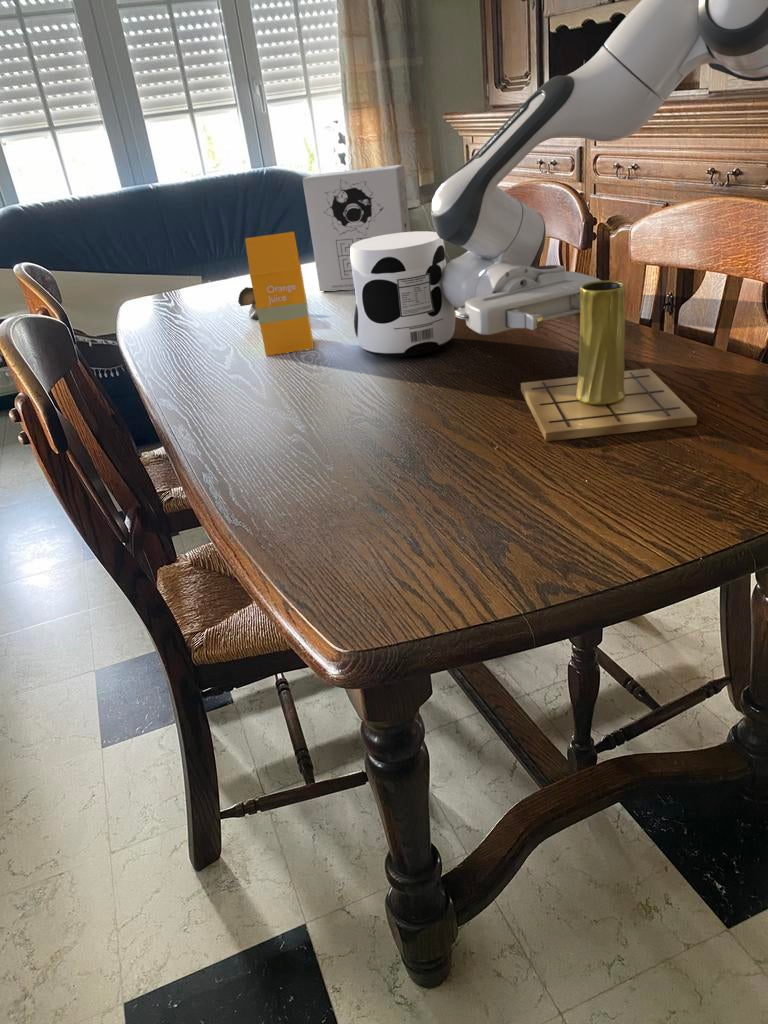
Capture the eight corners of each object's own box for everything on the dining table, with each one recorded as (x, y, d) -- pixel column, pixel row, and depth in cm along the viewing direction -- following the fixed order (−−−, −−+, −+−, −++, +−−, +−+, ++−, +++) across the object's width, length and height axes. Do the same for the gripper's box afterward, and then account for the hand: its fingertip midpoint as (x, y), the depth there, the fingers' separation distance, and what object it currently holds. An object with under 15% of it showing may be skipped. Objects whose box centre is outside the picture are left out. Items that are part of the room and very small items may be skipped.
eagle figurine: (236, 308, 167) (231, 310, 159) (248, 278, 166) (244, 278, 157) (268, 323, 169) (264, 326, 160) (280, 293, 167) (277, 295, 158)
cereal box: (415, 279, 178) (404, 164, 165) (408, 286, 171) (397, 168, 159) (328, 285, 183) (312, 174, 171) (319, 292, 177) (301, 178, 165)
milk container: (393, 331, 141) (382, 230, 132) (475, 336, 131) (468, 229, 123) (338, 360, 129) (321, 252, 120) (423, 368, 119) (412, 252, 111)
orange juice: (267, 344, 143) (245, 235, 133) (313, 338, 143) (294, 228, 133) (265, 356, 136) (242, 242, 126) (313, 349, 136) (294, 234, 126)
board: (649, 376, 105) (649, 367, 104) (696, 425, 89) (697, 415, 89) (520, 390, 106) (520, 381, 105) (545, 441, 90) (545, 431, 90)
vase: (570, 392, 100) (570, 283, 93) (615, 385, 100) (619, 277, 93) (584, 408, 94) (585, 294, 88) (632, 401, 94) (637, 287, 88)
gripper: (446, 289, 105) (499, 307, 93) (568, 262, 111) (631, 276, 100) (450, 333, 108) (501, 356, 96) (567, 304, 114) (628, 322, 103)
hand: (568, 315), depth 98 cm, fingers open, 8 cm apart
